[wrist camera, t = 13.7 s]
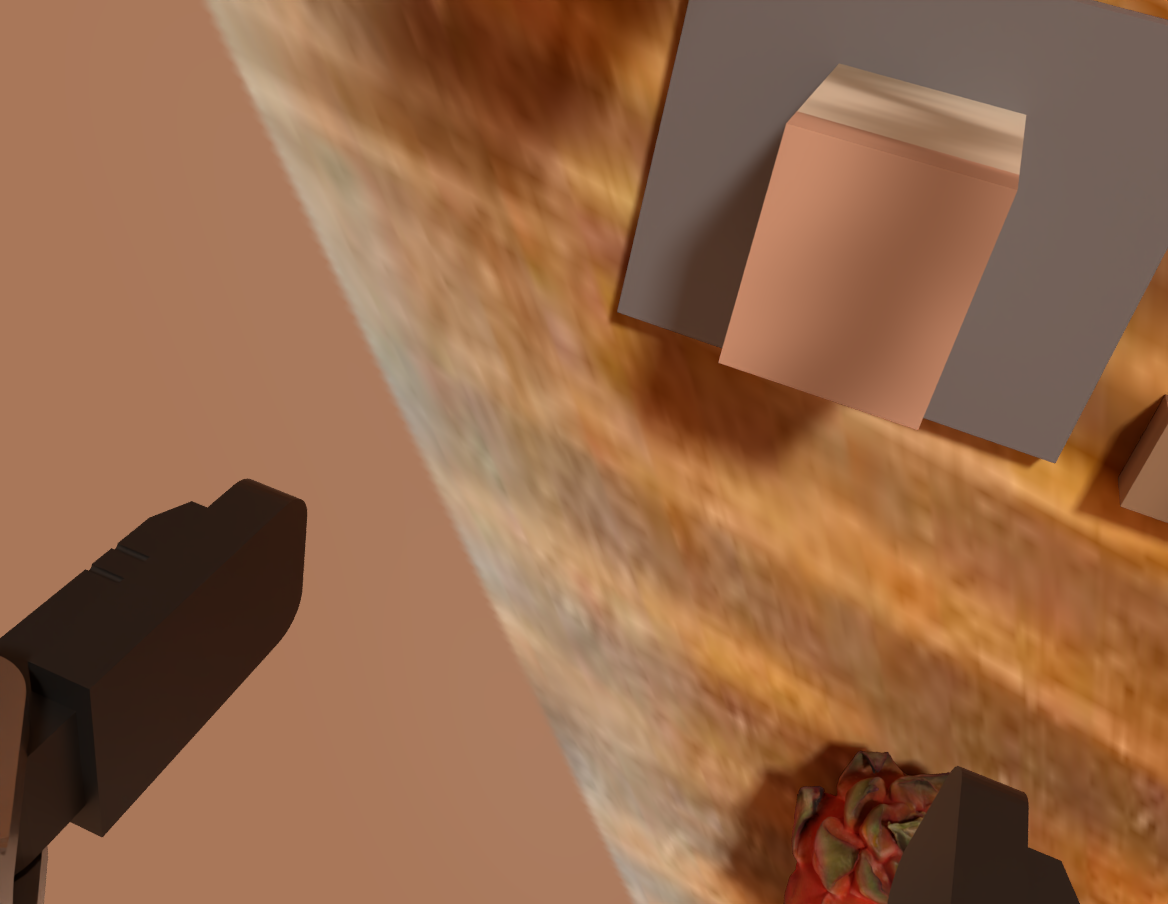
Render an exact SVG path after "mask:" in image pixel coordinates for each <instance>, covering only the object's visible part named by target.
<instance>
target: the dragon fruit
mask: <svg viewBox="0 0 1168 904" xmlns="http://www.w3.org/2000/svg"><path fill="white" fill-rule="evenodd" d="M949 774H950V772H948V773H941V774H919V775H915V776H909V775H907V774H906V773H904V772H902V771H901V770H900V769H899V768H898V766H897V765H896V764H895V763H894V761H893V759H892V758H891V756H890V755H889V753H888V752H884V753H880V752H863V751H859V752H857V754H856V755H855V756H854V758H853V760H852V761H851V762H850V763H849V765H848V766H847V767H846V768H845V770H844V771H843V773H842V775H841V777H840V778H839V781H838V783H837V796H834V795H832V794H828V793H824V789H823V788H822V787H820V786H814V787H806V786H805V787H801V789H800V790H799V794H797V804H796V809H795V815H794V819H795V821H794V827H793V832H792V852H793V855H794V857H795V859H796V860H797V864H796V870H795V871H794V872H793V873H792V874H791V876H790V877H789V880H788V884H787V888H786V891H785V895H784V904H887V903H888V898H889V893H890V889H891V886H892V882H893V879H894V876H895V873H896V870H897V867H898V864H899V862H900V860H901V857H902V855H903V853H904V851H905V849H906V847H907V845H908V844H909V842H910V840H911V838H912V837H913V835H914V833H915V832H916V830H917V828H918V826H919V825H920V823H921V821H922V820H923V818H924V816H925V814H926V813H927V811H928V809H929V807H930V806H931V804H932V802H933V801H934V799H935V797H936V795H937V794H938V792H939V790H940V789H941V787H942V785H943V783H944V782H945V780H946V778H947V777H948V775H949Z"/></svg>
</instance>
